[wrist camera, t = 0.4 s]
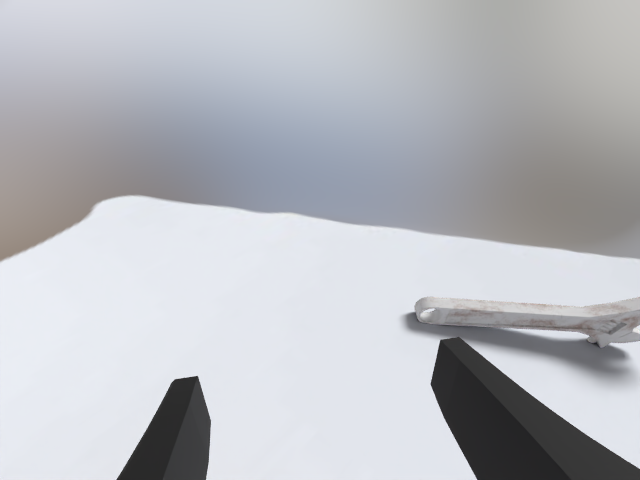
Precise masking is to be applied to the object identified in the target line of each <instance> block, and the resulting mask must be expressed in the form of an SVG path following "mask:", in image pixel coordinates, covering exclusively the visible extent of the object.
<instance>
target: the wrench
mask: <svg viewBox="0 0 640 480" xmlns="http://www.w3.org/2000/svg"><path fill="white" fill-rule="evenodd" d="M431 308H435V310H434V311H432V312H427V313H424V312H423V311H425V310H427V309H431ZM415 312H416V315H417V319H418V321H419V322H421V323H428V324H436V325H457V326H479V327H497V328H517V329H537V330H557V331H571V332H580V333H583V334H586V335H589V336H590V337H589V338H588V339H587V340H588V341H589V342H590V343H595V342H597V344H598V345H599V346H600V348H603V347H605V346H606V345H608V344H610V343H628V342H636V341H640V330H639V329H638V328H636V327H637V326H638V325H640V297H637V298H632V299H628V300H623V301H618V302H613V303H606V304H599V305H592V306H584V307H576V306H561V305H546V304H531V303H515V302H500V301H485V300H470V299H454V298H439V297H425V298H422V299H420V300H419V301H417V302H416V304H415Z"/></svg>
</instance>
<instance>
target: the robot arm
mask: <svg viewBox="0 0 640 480" xmlns="http://www.w3.org/2000/svg"><path fill="white" fill-rule="evenodd" d="M431 386H432V389H433V391H434V394H435V397H436V399H437V402H438V404H439V407H440V409H441V411H442V414H443V416H444V418H445V420H446V422H447V424H448V426H449V428H450V430H451V432H452V434H453V435H454V437H455V439H456V441H457V443H458V445H459V447H460V448H461V450H462V452H463V454H464V456H465V458H466V460H467V461H468V463H469V465H470V467H471V469H472V471H473V472H474V474H475V476H476V478H477V480H640V469H639V468H637V467H636V466H634V465H632V464H631V463H629V462H627V461H626V460H624V459H623V458H621V457H620V456H618V455H617V454H615V453H613V452H612V451H610V450H609V449H607V448H606V447H604V446H603V445H601V444H599V443H598V442H596V441H595V440H593V439H592V438H590V437H589V436H587V435H586V434H584V433H583V432H581V431H580V430H578V429H577V428H576V427H574V426H573V425H571V424H570V423H569V422H567V421H566V420H564V419H563V418H562V417H560V416H559V415H557V414H556V413H555V412H553V411H552V410H550V409H549V408H548V407H546V406H545V405H544V404H542V403H541V402H540V401H538V400H537V399H536V398H534V397H533V396H532V395H530V394H529V393H528V392H526V391H525V390H524V389H523V388H521V387H520V386H519V385H518V384H516V383H515V382H514V381H512V380H511V379H510V378H509V377H507V376H506V375H505V374H504V373H502V372H501V371H500V370H499V369H497V368H496V367H495V366H494V365H493V364H491V363H490V362H489V361H488V360H486V359H485V358H484V357H483V356H482V355H480V354H479V353H478V352H477V351H475V350H474V349H473V348H472V347H471V346H469V345H468V344H467V343H466V342H464V341H463V340H462V339H461V338H459V337H457V338H450V339H443V340H440V344H439V349H438V353H437V358H436V362H435V367H434V371H433V376H432V380H431ZM210 427H211V420H210V416H209V413H208V409H207V406H206V403H205V399H204V396H203V392H202V389H201V385H200V382H199V378H198V376H194V377H188V378H181V379H175V380H174V381H173V382H172V383H171V385H170V387H169V389H168V391H167V393H166V395H165V397H164V399H163V401H162V402H161V404H160V406H159V408H158V410H157V412H156V414H155V415H154V417H153V419H152V421H151V423H150V424H149V426H148V428H147V430H146V431H145V433H144V435H143V437H142V438H141V440H140V442H139V443H138V445H137V447H136V448H135V450H134V452H133V454H132V455H131V457H130V459H129V460H128V462H127V464H126V465H125V467H124V469H123V470H122V472H121V473H120V475H119V477H118V478H117V480H206V475H207V468H208V462H209V447H210Z"/></svg>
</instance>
